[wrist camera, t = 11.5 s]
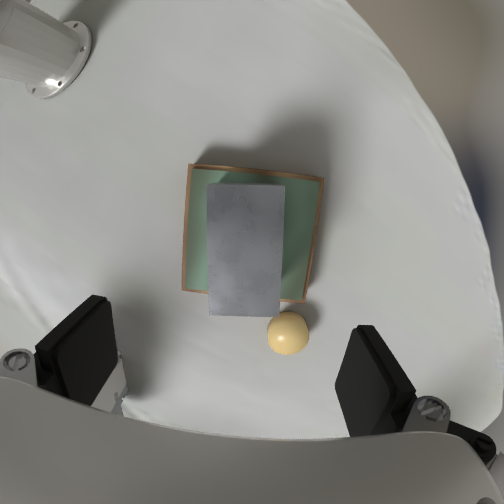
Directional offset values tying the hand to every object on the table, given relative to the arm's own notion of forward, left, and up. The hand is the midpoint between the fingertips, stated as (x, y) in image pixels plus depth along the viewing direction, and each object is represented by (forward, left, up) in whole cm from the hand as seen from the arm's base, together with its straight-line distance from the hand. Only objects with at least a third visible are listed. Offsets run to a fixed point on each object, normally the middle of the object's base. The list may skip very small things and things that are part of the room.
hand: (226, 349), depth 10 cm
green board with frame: (0, 0, -23) cm, 23 cm away
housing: (0, 0, -20) cm, 20 cm away
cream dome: (+6, -12, -24) cm, 27 cm away
